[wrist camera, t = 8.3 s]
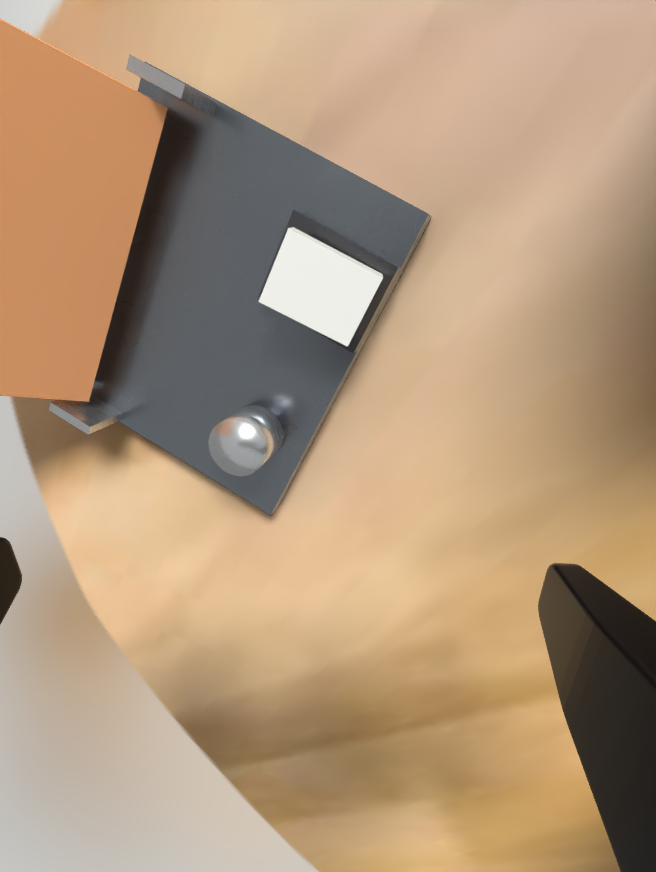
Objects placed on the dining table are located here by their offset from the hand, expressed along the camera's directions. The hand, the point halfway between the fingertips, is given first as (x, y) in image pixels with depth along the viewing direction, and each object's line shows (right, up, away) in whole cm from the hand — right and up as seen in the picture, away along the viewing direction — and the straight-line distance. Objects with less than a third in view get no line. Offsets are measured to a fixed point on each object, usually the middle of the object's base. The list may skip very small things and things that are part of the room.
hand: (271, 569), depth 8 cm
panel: (-3, +7, +11) cm, 14 cm away
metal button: (-2, +3, +12) cm, 12 cm away
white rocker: (+1, +7, +8) cm, 11 cm away
